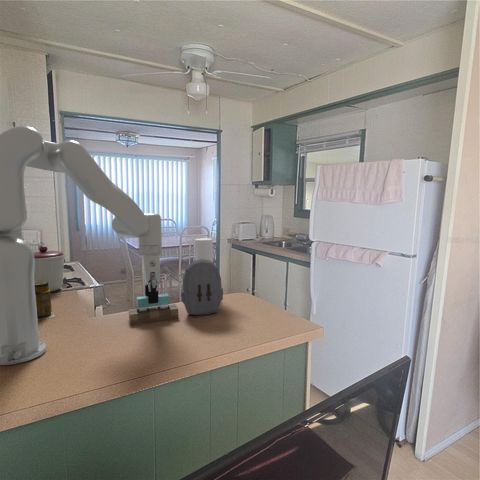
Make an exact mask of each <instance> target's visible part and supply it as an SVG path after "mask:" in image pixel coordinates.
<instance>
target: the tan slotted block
mask: <svg viewBox="0 0 480 480" xmlns="http://www.w3.org/2000/svg"><path fill="white" fill-rule="evenodd" d="M128 319H129V320H128V321H129V324H130V325H131V326H132V325H140V324H147V323H155V322H161V321H163V322H164V321H170V320H176V319H180V318H179V308H178V306H177V305H176V303H172V304H170V303H169V304H168V309H164V310H160V308H159V306H151V307H147V312H140V313H139V308H138V307H137V308H131V309H128Z"/></svg>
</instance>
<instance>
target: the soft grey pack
mask: <svg viewBox="0 0 480 480" xmlns="http://www.w3.org/2000/svg"><path fill="white" fill-rule="evenodd" d="M182 276H183V277H182V289H181V291H180V298H181V302H182V304H184V308H185V310H186V314H187V315H193V316H196V315H197V316H200V315H209V314H213V313H216V312H218V311H219V310H220V306H221V303H222V301H223V300H224V289H223V287H222V277H221V274H220V271H219V267H218V265H217V264H215V263H214V261H213V262H211V261H210V260H204V259H200V260H197V261H195V260H193V261H192V262H190V263H189V264H188V265H187V266H186V267H185V271H184V273H183V275H182Z"/></svg>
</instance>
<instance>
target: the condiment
mask: <svg viewBox="0 0 480 480" xmlns="http://www.w3.org/2000/svg"><path fill="white" fill-rule="evenodd" d="M34 284H35V296H36V308H37V320H38V321H40V320H41V321H43V320H49V319H51V318H56V317H57V316H56V315H55V313H53V312H52V311H53V310H52V297H51V292H50V290H49V286H48V285H49V284H48V283H47V282H38V283H34ZM52 313H53V314H52Z"/></svg>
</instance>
